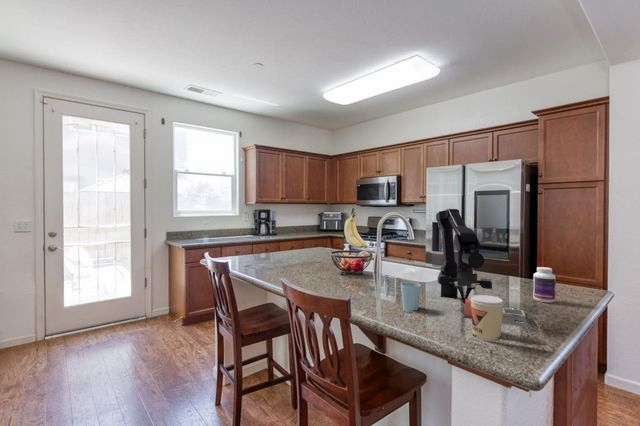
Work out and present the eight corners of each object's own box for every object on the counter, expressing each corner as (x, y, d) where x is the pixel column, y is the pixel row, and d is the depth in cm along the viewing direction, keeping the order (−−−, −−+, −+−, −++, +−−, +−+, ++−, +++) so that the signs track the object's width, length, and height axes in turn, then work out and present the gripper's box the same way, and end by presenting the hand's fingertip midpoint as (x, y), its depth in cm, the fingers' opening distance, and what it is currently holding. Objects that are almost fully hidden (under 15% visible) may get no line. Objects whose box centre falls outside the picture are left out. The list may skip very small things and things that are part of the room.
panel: (463, 320, 116) (463, 314, 116) (464, 305, 134) (464, 300, 134) (529, 330, 108) (529, 324, 108) (521, 313, 126) (521, 307, 126)
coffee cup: (464, 331, 107) (464, 294, 106) (491, 330, 107) (491, 294, 107) (480, 343, 97) (481, 303, 97) (510, 342, 98) (510, 302, 98)
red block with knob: (465, 315, 119) (465, 299, 119) (465, 312, 122) (465, 296, 122) (477, 317, 117) (477, 301, 117) (477, 313, 121) (477, 298, 120)
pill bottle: (559, 304, 138) (559, 270, 137) (537, 302, 139) (538, 269, 139) (549, 298, 146) (550, 266, 145) (529, 297, 147) (530, 266, 147)
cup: (413, 307, 132) (413, 281, 132) (424, 313, 125) (425, 286, 124) (396, 308, 130) (397, 282, 130) (407, 314, 122) (407, 287, 122)
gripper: (437, 264, 124) (437, 305, 124) (493, 269, 116) (492, 312, 116) (440, 260, 134) (440, 298, 134) (491, 264, 126) (491, 304, 126)
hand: (464, 303), depth 127 cm, fingers closed
